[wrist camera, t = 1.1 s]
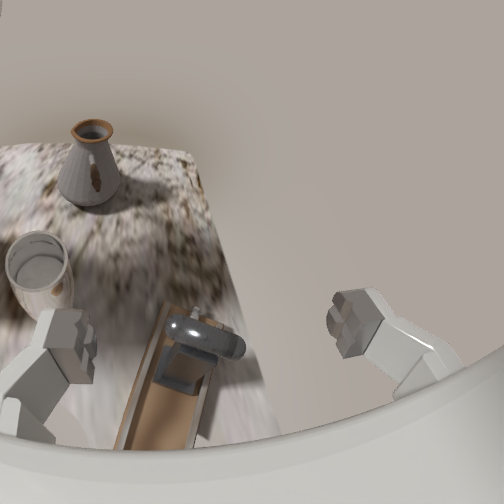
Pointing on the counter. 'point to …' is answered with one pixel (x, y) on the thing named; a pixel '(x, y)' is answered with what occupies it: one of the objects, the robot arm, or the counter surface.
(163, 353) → the handle
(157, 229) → the counter surface
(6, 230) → the counter surface
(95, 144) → the coffee pot
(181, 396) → the track
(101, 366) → the counter surface
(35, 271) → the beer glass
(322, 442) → the robot arm
